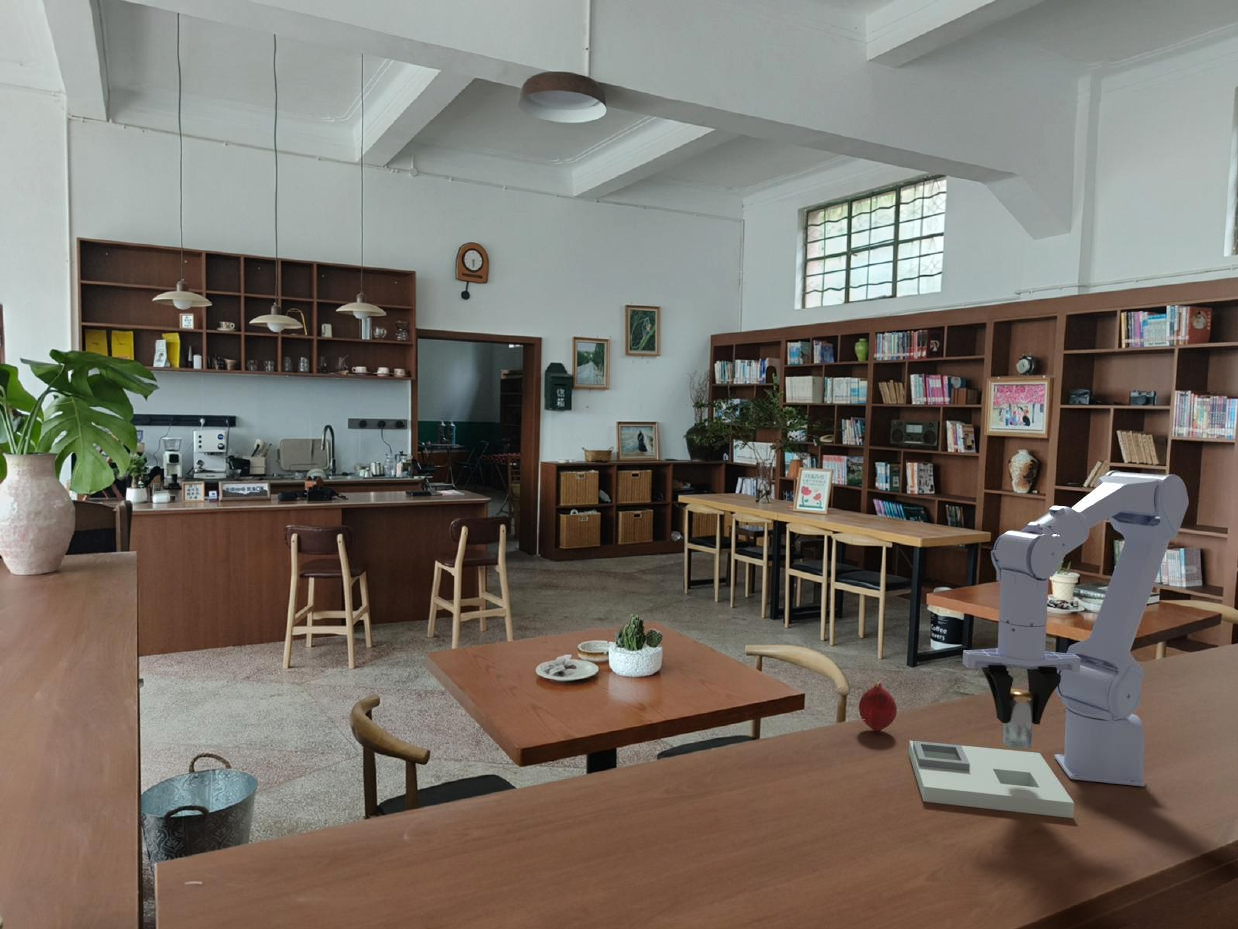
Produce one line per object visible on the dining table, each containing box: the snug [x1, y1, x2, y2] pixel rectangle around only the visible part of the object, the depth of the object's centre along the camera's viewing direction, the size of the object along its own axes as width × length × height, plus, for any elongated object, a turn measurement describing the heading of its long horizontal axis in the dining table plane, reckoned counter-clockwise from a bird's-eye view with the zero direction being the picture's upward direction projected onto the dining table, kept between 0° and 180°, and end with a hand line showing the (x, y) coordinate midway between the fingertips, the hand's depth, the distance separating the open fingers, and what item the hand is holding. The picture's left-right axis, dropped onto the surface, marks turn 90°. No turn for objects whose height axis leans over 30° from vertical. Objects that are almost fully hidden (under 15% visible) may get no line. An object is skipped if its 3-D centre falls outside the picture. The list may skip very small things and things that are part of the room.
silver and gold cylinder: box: [1002, 687, 1034, 751], centre depth 111 cm, size 4×4×7 cm
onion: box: [858, 681, 898, 732], centre depth 133 cm, size 6×6×8 cm
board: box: [908, 740, 1075, 819], centre depth 114 cm, size 18×16×3 cm
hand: (1018, 721), depth 111 cm, fingers closed on silver and gold cylinder, 3 cm apart
